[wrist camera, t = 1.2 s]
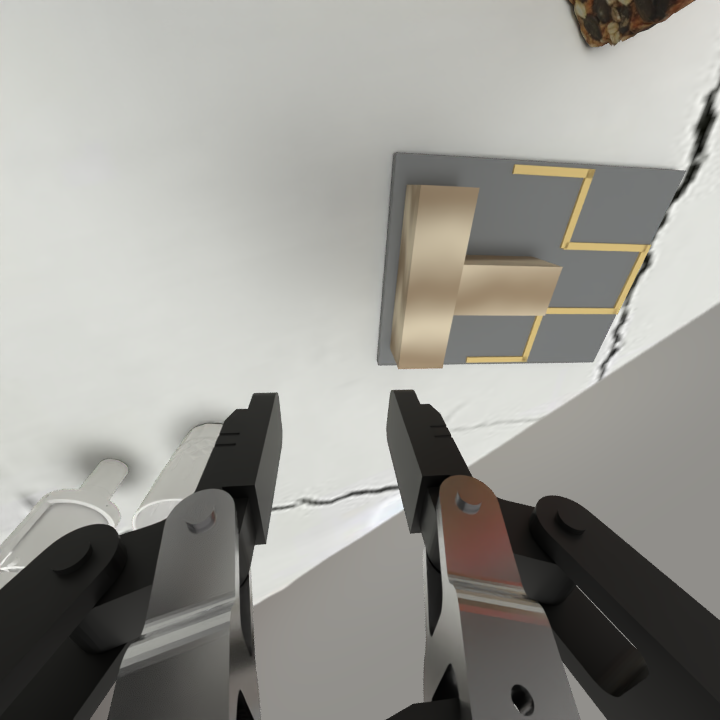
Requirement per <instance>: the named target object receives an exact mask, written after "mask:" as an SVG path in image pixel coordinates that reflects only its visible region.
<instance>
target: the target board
mask: <svg viewBox="0 0 720 720" xmlns="http://www.w3.org/2000/svg"><path fill="white" fill-rule="evenodd" d="M685 172H686V171H683V170H667V169H651V168H635V167H619V166H603V165H588V164H572V163H556V162H540V161H524V160H509V159H493V158H477V157H461V156H445V155H429V154H414V153H398V152H396V153H394V157H393V170H392V182H391V194H390V206H389V219H388V231H387V243H386V255H385V268H384V280H383V292H382V305H381V317H380V329H379V341H378V354H377V362H378V365H397V364H396V362H395V359H394V357H393V354H392V352H391V349H390V342H391V332H392V322H393V313H394V303H395V293H396V284H397V274H398V264H399V255H400V245H401V235H402V225H403V216H404V206H405V196H406V187H407V185H435V186H454V187H474V188H479V193H478V198H477V203H476V208H475V213H474V218H473V222H472V227H471V232H470V237H469V242H468V247H467V251H466V255H491V256H529V257H535V258H538V259H541V260H544V261H547V262H549V263H552V264H555V265H558V266H561V267H563V268H562V270H561V273H560V276H559V279H558V281H557V284H556V287H555V290H554V292H553V295H552V298H551V301H550V303H549V306H548V309H547V312H546V314H545V316H491V315H453V319H452V324H451V329H450V334H449V339H448V344H447V348H446V353H445V358H444V363H443V364H511V363H578V362H593V361H594V359H595V357H596V355H597V353H598V351H599V349H600V347H601V345H602V343H603V341H604V339H605V337H606V335H607V333H608V331H609V328H610V326H611V324H612V322H613V320H614V318H615V316H616V314H618V312H619V310H620V308H621V306H622V304H623V302H624V300H625V298H626V296H627V294H628V292H629V290H630V288H631V285H632V283H633V281H634V279H635V277H636V275H637V273H638V271H639V269H640V267H641V265H642V263H643V261H644V259H645V257H646V255H647V253H648V251H649V249H650V246H651V245H650V244H651V242H652V240H653V238H654V236H655V234H656V232H657V229H658V227H659V225H660V223H661V221H662V219H663V217H664V215H665V213H666V211H667V209H668V207H669V205H670V203H671V201H672V199H673V197H674V194H675V192H676V190H677V188H678V186H679V184H680V182H681V180H682V178H683V176H684V174H685Z"/></svg>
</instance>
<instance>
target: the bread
mask: <svg viewBox="0 0 720 720" xmlns="http://www.w3.org/2000/svg"><path fill="white" fill-rule="evenodd" d="M569 1H570V2H571V3H572V4H573V5H574V12H575V15H576V17H577V19H578V22H579V24H580V30H581V33H582V35H583V37H584V39H585V41H586V42H587V43H588V44H589V45H590V47H600V46H603V45H605V44H607V43H609V44H610V45H611V46H612V45H614V46H615V45H616V44H617V43H618V42H619V41H620V40H622V42H623V41H625V40H627V39H628V38H630V37H633V36H635V35H636V34H637V33H639V32H642V31H645V30H648V29H649V28H651V27H653V26H654V25H656V24H657V23H660V22H663V21H665V20H666V19H668V18H669V17H670V16H671V15H672V14H673V13H676V12H678V11H679V10H681V9H682V8H684V7H686V6H687V5H689V4H690V3H692V2H693V1H695V0H569Z"/></svg>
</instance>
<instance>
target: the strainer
mask: <svg viewBox="0 0 720 720" xmlns="http://www.w3.org/2000/svg"><path fill="white" fill-rule="evenodd" d="M128 471H129V469H128V467H127V465H126V464H124V463H123V462H121V461H119V460H115V459H105V460H103V461H101V462H100V463H99V464H98V466H97V467H96V468H95V469H94V471H93V472H92V473H91V474H90V476H89V477H88V478H87V479H86V481H85V482H84V483H83V484H82V485H81V487H80V488H79V489H62V490H56V491H53V492H50V493H48V494H46V495H45V496H43V497H42V499H41V500H40V501H39V502H38V503H37V504H36V505H35V506H34V507H33V509H32V510H31V512H30V513H29V514H28V515H27V516H26V518H25V519H24V520H23V521H22V522H21V523H20V524H19V525H18V526H17V528H16V529H15V530H14V531H13V532H12V533H11V534H10V535H9V536H8V538H7V539H6V540H5V541H4V542H3V543H2V544H1V545H0V564H1V566H0V569H1V570H4V571H5V572H0V589H1V588H2V587H3V586H4V585H6V584H7V583H8V582H9V581H10V580H11V579H12V578H13V577H15V576H16V575H17V574H18V573H19V572H20V571H21V570H22V569H24V568H25V567H26V566H27V565H28V564H29V563H30V562H31V561H33V560H34V559H35V558H36V557H37V556H38V555H39V554H40V553H42V552H43V551H44V550H45V549H46V548H47V547H48V546H50V545H51V544H52V543H53V542H55V541H56V540H58V539H59V538H61V537H62V536H64V535H66V534H68V533H69V532H72V531H74V530H76V529H78V528H81V527H84V526H88V525H92V524H106V525H110V526H112V527H113V528H114V529H115V528H116V527H117V525H118V523H119V522H120V519H121V514H120V511H119V509H118V508H117V506H116V505H115V504H114V503H113V502H111V501H110V498H111V497H112V496H113V494H114V492H115V491H116V489H117V488H118V486H119V485H120V484H121V482H122V481H123V479H124V478H125V476H126V475H127V474H128Z"/></svg>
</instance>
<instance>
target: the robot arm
mask: <svg viewBox="0 0 720 720" xmlns="http://www.w3.org/2000/svg"><path fill="white" fill-rule="evenodd" d="M386 432H387V442H388V446H389V450H390V454H391V458H392V462H393V466H394V470H395V474H396V478H397V482H398V486H399V490H400V495H401V499H402V503H403V507H404V511H405V515H406V519H407V523H408V527H409V531H410V533H422V536H423V540H424V543H425V547H424V551H423V574H424V601H425V602H424V603H425V631H426V645H425V646H426V647H425V657H424V672H423V673H424V674H423V694H424V703H416V704H412V705H410V706H409V707H407V708H405V709H403V710H402V711H400V712H398V713H397V714H395V715H393V716H391V717H390V718H388V719H386V720H581V719H580V716H579V713H578V710H577V707H576V704H575V701H574V698H573V694H572V691H571V688H570V685H569V682H568V679H567V676H566V673H565V670H564V666H563V663H564V664H565V665H566V667H567V668H568V669H569V671H570V672H571V673H572V675H573V676H574V677H575V678H576V680H577V681H578V682H579V684H580V685H581V686H582V687H583V689H584V690H585V691H586V693H587V694H588V695H589V697H590V698H591V699H592V700H593V702H594V703H595V704H596V706H597V707H598V708H599V710H600V711H601V712H602V713H603V714H604V716H605V717H606V719H607V720H720V620H719V619H718V618H716V617H715V616H714V615H713V614H711V613H710V612H709V611H708V610H707V609H706V608H704V607H703V606H702V605H701V604H700V603H698V602H697V601H696V600H695V599H694V598H692V597H691V596H690V595H689V594H688V593H686V592H685V591H684V590H683V589H682V588H680V587H679V586H678V585H677V584H676V583H674V582H673V581H672V580H671V579H670V578H668V577H667V576H666V575H664V573H662V572H661V571H660V570H659V569H657V568H656V567H655V566H654V565H652V563H650V562H649V561H648V560H647V559H646V558H644V557H643V556H642V555H641V554H639V553H638V552H637V551H636V550H635V549H634V548H632V547H631V546H630V545H629V544H627V543H626V542H625V541H624V540H623V539H621V538H620V537H619V536H618V535H617V534H615V533H614V532H613V531H612V530H611V529H610V528H608V527H607V526H606V525H605V524H604V523H602V522H601V521H600V520H599V519H598V518H596V517H595V516H594V515H593V514H591V513H590V512H589V511H588V510H587V509H585V508H584V507H582V506H581V505H579V504H578V503H576V502H574V501H572V500H570V499H567V498H564V497H561V496H545V497H543V498H541V499H540V500H539V501H538V503H537V504H536V507H532V506H528V505H523V504H519V503H514V502H510V501H506V500H503V499H500V498H498V497H496V496H495V495H494V493H493V492H492V490H491V489H490V488H489V487H488V486H486V485H485V484H484V483H483V482H481V481H479V480H477V479H475V478H473V477H472V475H471V473H470V471H469V469H468V467H467V465H466V463H465V461H464V459H463V457H462V455H461V453H460V451H459V450H458V448H457V446H456V444H455V442H454V440H453V438H451V434H450V432H449V430H448V428H446V424H445V422H444V420H443V418H442V416H441V414H440V413H439V412H438V411H437V410H436V409H434V408H433V407H432V406H431V405H430V404H420V402H419V400H418V398H417V396H416V393H415V391H414V390H391V393H390V399H389V408H388V417H387V427H386ZM281 448H282V423H281V413H280V404H279V396H278V393H254V394H253V396H252V399H251V401H250V404H249V407H248V409H236V410H235V411H234V412H233V413H232V414H231V415H230V416H229V417H228V418H227V419H226V420H225V421H224V424H223V426H222V428H221V431H220V433H219V436H218V438H217V440H216V443H215V447H213V450H212V452H211V454H210V457H209V459H208V461H207V464H206V466H205V469H204V471H203V473H202V476H201V478H200V480H199V483H198V485H197V488H196V490H195V492H194V493H193V494H191V495H189V496H188V497H186V498H185V499H183V500H182V501H180V502H179V503H178V504H177V505H176V506H175V507H174V508H173V510H172V511H171V512H170V514H169V515H168V517H167V518H166V519H164V520H162V521H160V522H157V523H155V524H152V525H149V526H146V527H143V528H140V529H137V530H134V531H131V532H128V533H125V534H122V535H120V536H119V535H118V533H117V531H116V530H115V529H114V528H113V527H112V526H110V525H106V524H92V525H88V526H84V527H81V528H78V529H76V530H74V531H72V532H69V533H68V534H66V535H64V536H62V537H61V538H59V539H58V540H56V541H55V542H53V543H52V544H51V545H50V546H48V547H47V548H46V549H45V550H44V551H43V552H42V553H40V554H39V555H38V556H37V557H36V558H35V559H34V560H33V561H31V562H30V563H29V564H28V565H27V566H26V567H25V568H24V569H22V570H21V571H20V572H19V573H18V574H17V575H16V576H15V577H13V578H12V579H11V580H10V581H9V582H8V583H7V584H6V585H4V586H3V587H2V588H1V589H0V720H90V718H91V717H92V715H93V714H94V712H95V711H96V709H97V708H98V706H99V705H100V703H101V702H102V700H103V699H104V698H105V696H106V695H107V693H108V692H109V690H110V688H111V687H112V686H113V684H114V683H115V681H116V680H117V681H116V685H115V690H114V694H113V698H112V702H111V707H110V711H109V715H108V719H107V720H261V712H260V698H259V689H258V679H257V672H256V662H255V646H254V624H253V603H252V581H251V568H250V566H251V561H252V556H253V550H254V545H260V544H266V540H267V534H268V528H269V522H270V516H271V510H272V503H273V497H274V491H275V485H276V479H277V473H278V466H279V460H280V454H281ZM576 585H577V586H578V587H579V588H580V589H581V590H582V591H583V592H584V593H585V594H586V595H587V597H588V598H589V599H590V600H591V601H592V602H593V603H594V604H595V605H596V606H597V607H598V608H599V609H600V610H601V611H602V612H603V613H604V614H605V615H606V616H607V618H608V619H609V620H610V621H611V622H613V624H614V625H615V626H616V627H617V628H618V629H619V630H620V631H621V632H622V633H623V634H624V635H625V636H626V637H627V638H628V639H629V641H630V642H631V643H632V644H633V645H634V646H635V647H636V648H637V649H636V648H635V647H634V646H633V645H632V644H631V643H630V642H629V641H628V640H627V639H626V638H625V637H624V636H623V635H622V634H621V633H620V632H619V631H618V630H617V629H616V628H615V626H614V625H613V624H612V623H611V622H610V621H609V620H608V619H607V618H606V617H605V616H604V615H603V614H602V613H601V612H600V611H599V610H598V609H597V608H596V606H594V604H593V603H592V602H591V601H590V600H589V599H588V598H587V597H586V596H585V595H584V594H583V593H582V592H581V591H580V590H579V589H578V587H577V586H576ZM562 662H563V663H562ZM514 704H515V705H516V706H517V708H518V710H519V711H518V710H517V709H516V708H515V706H514Z"/></svg>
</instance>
